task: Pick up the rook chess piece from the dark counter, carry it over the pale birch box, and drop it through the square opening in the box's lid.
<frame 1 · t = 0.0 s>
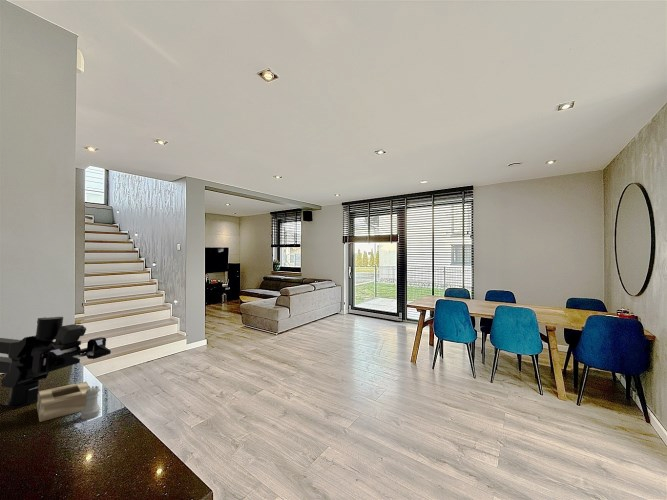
hand: (95, 356, 84), 17 cm above the kitchen counter, tool horizontal, fingers open, 9 cm apart
rook chess piece: (90, 416, 82), on the kitchen counter
box: (64, 408, 85), on the kitchen counter
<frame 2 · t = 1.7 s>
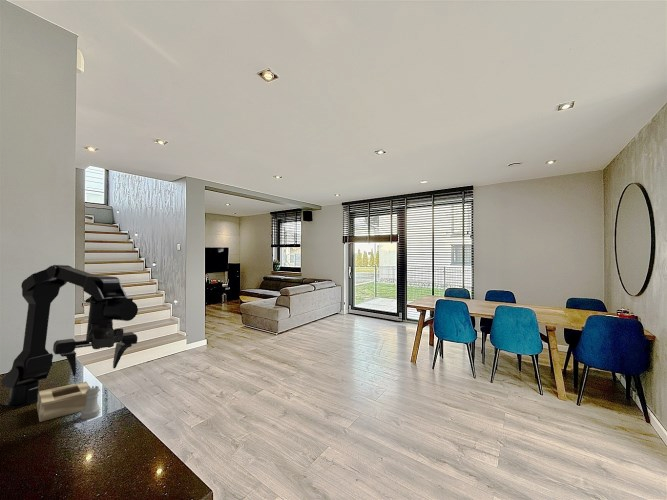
hand: (94, 371, 83), 13 cm above the kitchen counter, tool pointing down, fingers open, 9 cm apart
nothing on the kitchen counter moved.
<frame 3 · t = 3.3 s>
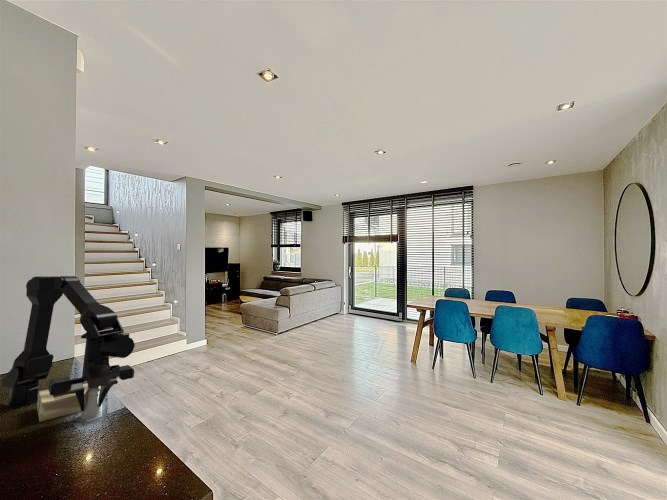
hand: (90, 408, 82), 2 cm above the kitchen counter, tool pointing down, fingers closed on rook chess piece, 3 cm apart
rook chess piece: (90, 416, 82), on the kitchen counter, touching gripper
when the fingers open (8 cm above the kitchen counter, at t = 6.9 s): rook chess piece drops 6 cm, resting in box.
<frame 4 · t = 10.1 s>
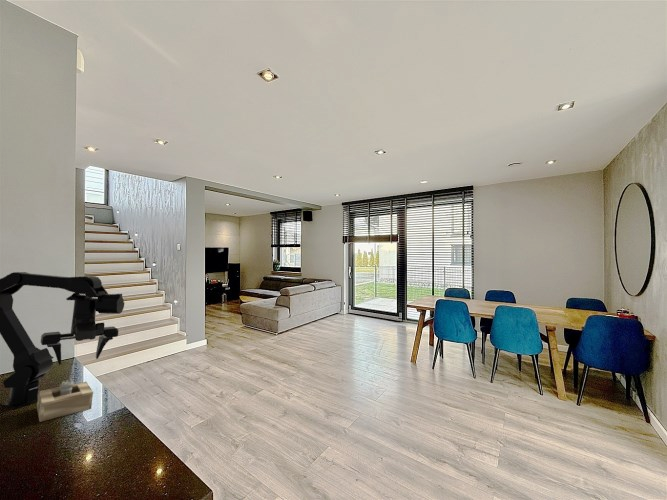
hand: (78, 361, 92), 12 cm above the kitchen counter, tool pointing down, fingers open, 9 cm apart
rook chess piece: (63, 409, 85), resting in box
at the end: rook chess piece 0.1 cm from the box (horizontally); rook chess piece resting in box; the gripper is holding nothing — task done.
